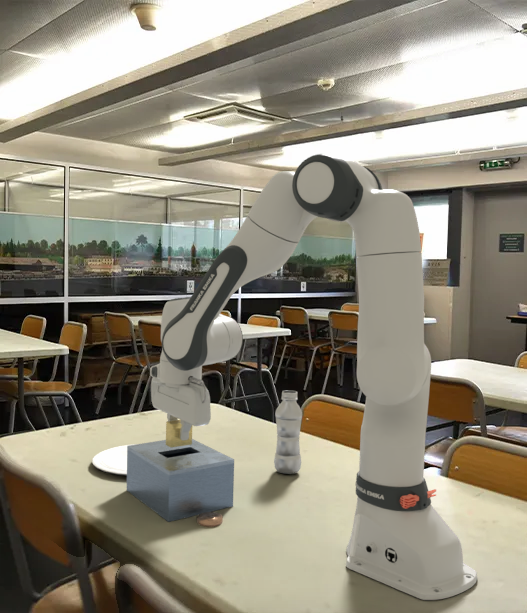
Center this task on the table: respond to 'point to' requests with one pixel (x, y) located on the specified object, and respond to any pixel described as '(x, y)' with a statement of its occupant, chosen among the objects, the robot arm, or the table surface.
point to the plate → (112, 460)
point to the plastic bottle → (288, 434)
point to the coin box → (180, 478)
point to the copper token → (209, 519)
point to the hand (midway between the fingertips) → (179, 437)
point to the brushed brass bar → (176, 434)
